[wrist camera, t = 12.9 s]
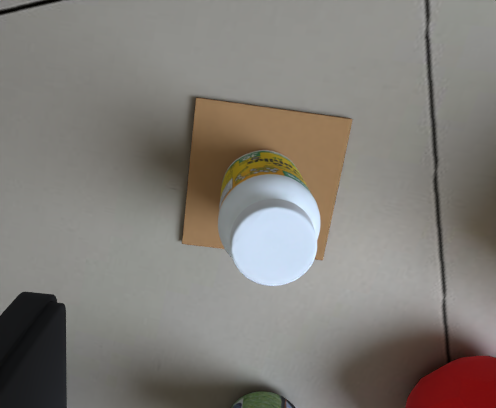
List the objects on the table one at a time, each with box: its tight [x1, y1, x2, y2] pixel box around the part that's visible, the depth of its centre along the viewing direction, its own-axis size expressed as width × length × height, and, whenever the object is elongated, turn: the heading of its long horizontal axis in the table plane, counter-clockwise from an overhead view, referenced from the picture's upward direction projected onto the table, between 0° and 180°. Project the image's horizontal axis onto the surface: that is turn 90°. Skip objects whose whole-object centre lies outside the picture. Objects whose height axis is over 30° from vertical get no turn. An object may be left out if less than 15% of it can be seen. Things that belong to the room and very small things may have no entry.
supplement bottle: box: [218, 150, 320, 286], centre depth 24 cm, size 5×5×10 cm
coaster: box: [182, 97, 352, 260], centre depth 29 cm, size 10×10×1 cm
